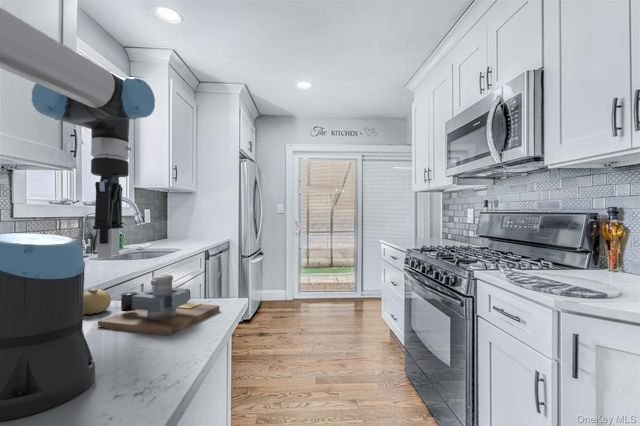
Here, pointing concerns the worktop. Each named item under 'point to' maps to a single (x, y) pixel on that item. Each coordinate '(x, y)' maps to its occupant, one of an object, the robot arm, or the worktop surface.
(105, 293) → the onion
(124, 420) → the worktop surface
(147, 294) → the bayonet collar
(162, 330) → the base
